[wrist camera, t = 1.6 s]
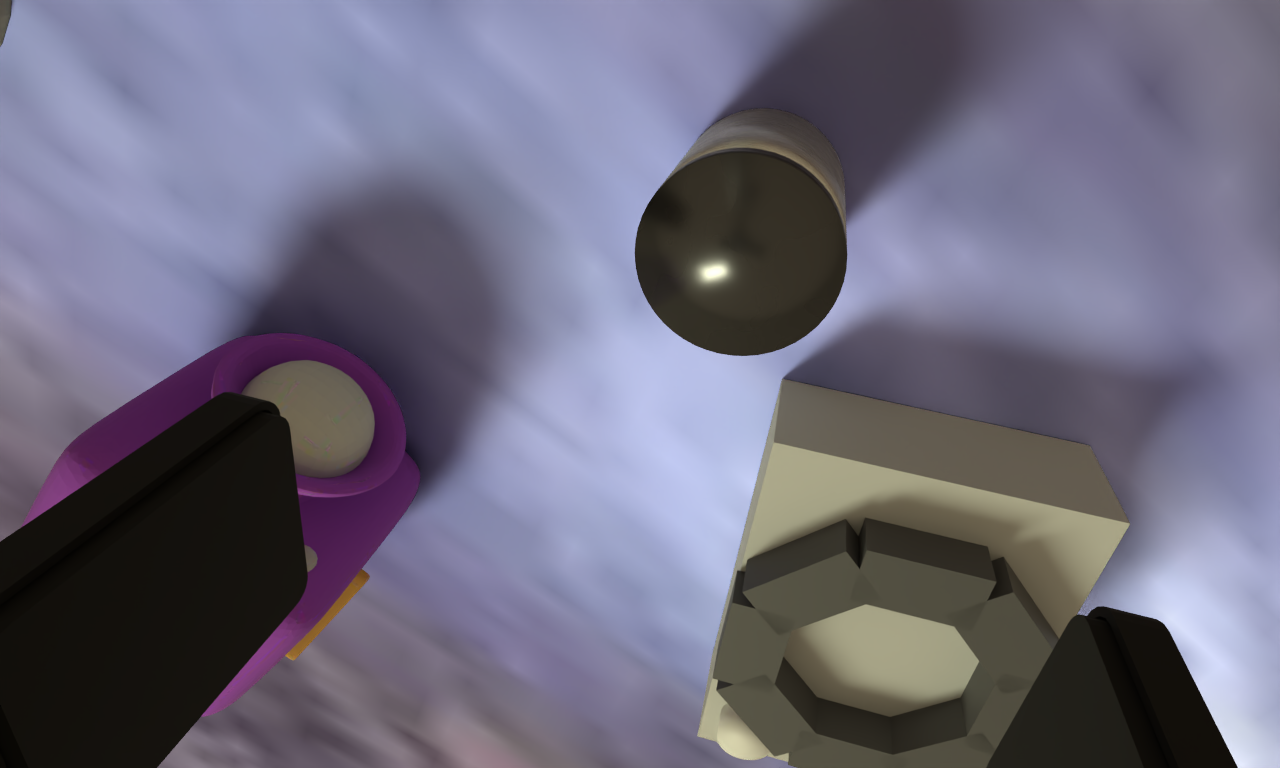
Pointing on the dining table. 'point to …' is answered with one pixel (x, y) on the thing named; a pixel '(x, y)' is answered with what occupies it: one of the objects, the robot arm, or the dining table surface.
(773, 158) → the lens
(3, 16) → the mate gourd
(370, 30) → the dining table surface
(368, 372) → the toy camera
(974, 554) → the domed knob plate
